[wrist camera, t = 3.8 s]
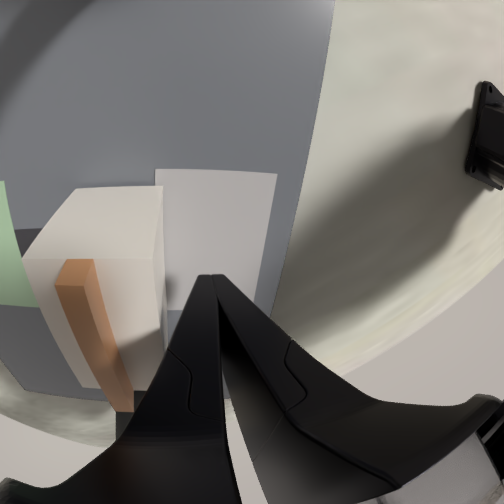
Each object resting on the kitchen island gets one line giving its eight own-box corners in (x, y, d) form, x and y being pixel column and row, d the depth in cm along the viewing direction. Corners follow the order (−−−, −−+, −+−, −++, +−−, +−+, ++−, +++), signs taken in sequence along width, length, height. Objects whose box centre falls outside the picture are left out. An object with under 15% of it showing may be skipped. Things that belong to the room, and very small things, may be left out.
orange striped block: (163, 185, 8) (149, 285, 4) (167, 304, 11) (172, 412, 7) (76, 188, 7) (6, 283, 3) (98, 304, 10) (80, 408, 6)
